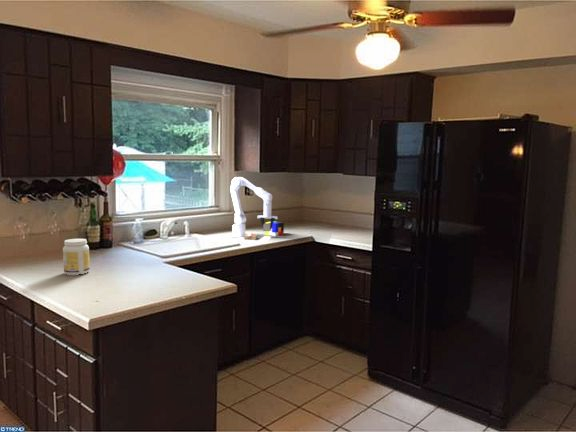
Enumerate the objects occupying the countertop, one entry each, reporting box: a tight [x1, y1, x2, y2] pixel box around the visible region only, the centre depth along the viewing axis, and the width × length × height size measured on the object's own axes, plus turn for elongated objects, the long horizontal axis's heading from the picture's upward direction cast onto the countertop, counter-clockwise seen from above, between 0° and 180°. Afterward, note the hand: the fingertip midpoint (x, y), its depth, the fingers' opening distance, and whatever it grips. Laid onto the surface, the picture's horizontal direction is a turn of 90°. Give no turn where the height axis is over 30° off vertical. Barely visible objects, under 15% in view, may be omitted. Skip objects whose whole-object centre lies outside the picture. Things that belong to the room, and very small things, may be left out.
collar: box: [243, 233, 259, 241], centre depth 338 cm, size 8×8×3 cm
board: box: [259, 235, 272, 242], centre depth 338 cm, size 8×20×1 cm, turn 172°
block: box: [262, 222, 271, 232], centre depth 344 cm, size 5×5×5 cm
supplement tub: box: [62, 238, 91, 276], centre depth 237 cm, size 12×12×17 cm
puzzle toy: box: [264, 220, 285, 237], centre depth 357 cm, size 10×10×10 cm
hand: (267, 228), depth 344 cm, fingers closed on block, 5 cm apart
